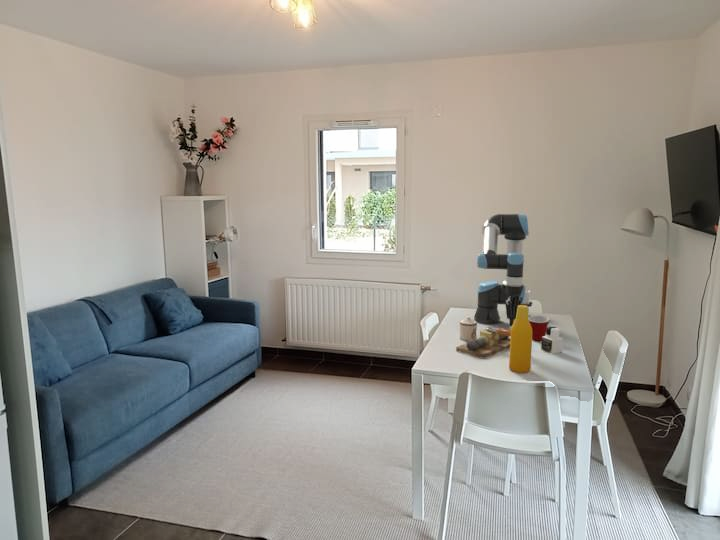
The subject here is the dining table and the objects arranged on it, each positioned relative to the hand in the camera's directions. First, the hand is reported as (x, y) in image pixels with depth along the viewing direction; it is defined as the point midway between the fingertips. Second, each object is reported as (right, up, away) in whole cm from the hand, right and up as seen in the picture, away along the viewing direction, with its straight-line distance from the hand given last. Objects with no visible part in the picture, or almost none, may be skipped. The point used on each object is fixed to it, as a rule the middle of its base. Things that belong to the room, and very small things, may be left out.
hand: (512, 331), depth 271 cm
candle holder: (+25, +2, +68) cm, 72 cm away
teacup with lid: (-17, -6, +22) cm, 28 cm away
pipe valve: (-11, -8, +5) cm, 14 cm away
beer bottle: (-4, -14, -27) cm, 31 cm away
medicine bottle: (+19, -10, -1) cm, 21 cm away
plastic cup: (+18, -7, +17) cm, 26 cm away
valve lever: (-7, -1, 0) cm, 7 cm away
